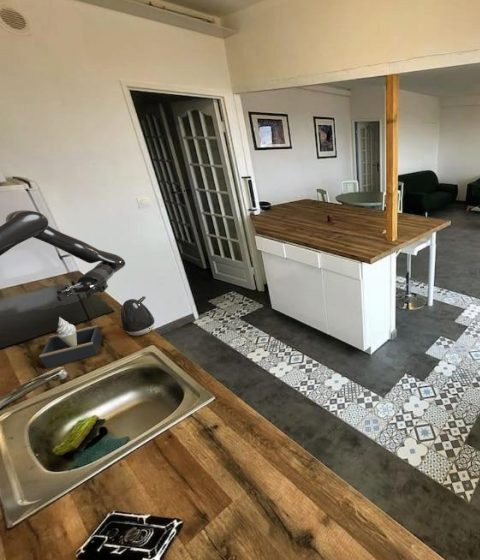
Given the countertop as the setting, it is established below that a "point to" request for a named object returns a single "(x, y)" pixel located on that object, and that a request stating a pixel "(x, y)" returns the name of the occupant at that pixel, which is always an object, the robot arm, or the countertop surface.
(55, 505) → the countertop surface
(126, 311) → the pump dispenser
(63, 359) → the basket
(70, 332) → the ice cream cone
